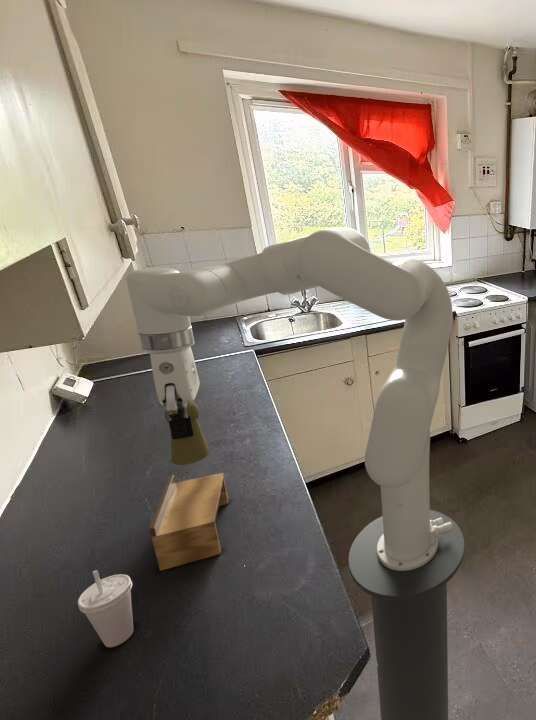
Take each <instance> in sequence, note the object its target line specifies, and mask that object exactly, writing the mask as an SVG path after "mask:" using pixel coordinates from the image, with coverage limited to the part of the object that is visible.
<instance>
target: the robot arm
mask: <svg viewBox="0 0 536 720" xmlns="http://www.w3.org/2000/svg"><path fill="white" fill-rule="evenodd" d="M126 284H127V289H128V294H129V298H130V302H131V306H132V312H133V316H134V321H135V325H136V328H137V333H138V339H139V342H140V347H141V351H142V352H143V353H147V354H149V357H150V366H151V370H152V376H153V381H154V386H155V392H156V396H157V399H158V402H159V404H160V405H161V406H162V407H166V409H167V413H168V421H169V423H168V426H169V430H170V436H171V435H172V439H174V440H175V439H181V438H186V437H192V436H193V435H194V431H193V426H192V421H191V416H188V410H187V402H188V401H189V402H194V403H196V402H195V399H196V397H197V394H198V393H199V392H198V391H199V389H200V385H201V384H200V383H201V382H200V378H199V374H198V369H197V366H196V361H195V357H194V353H193V350H192V347H193V346H194V345H195V344H196V343H195V337H194V331H193V327H192V323H191V317H200V316H205V315H207V314H209V313H212V312H215V311H218V310H220V309H223V308H226V307H228V306H231V305H234V304H236V303H240V302H244V301H247V300H251V299H254V298H258V297H262V296H266V295H271V294H275V293H277V294H280V295H284V296H286V295H287V296H288V295H292V294H296V293H299V292H303V291H307V290H311V289H315V288H318V287H319V288H321V289H323V290H324V291H327V292H329V293H331V294H333V295H335V296H337V297H339V298H341V299H342V300H344V301H347V302H348V303H350V304H353V305H355V306H357V307H358V308H360V309H363V310H365V311H367V312H369V313H371V314H373V315H375V316H378V317H380V318H382V319H385V320H390V321H404V323H403V324H404V325H403V328H402V331H401V335H400V341H399V347H398V351H397V356H396V359H395V361H394V362H395V364H394V365H393V369H392V370H391V372H390V374H389V376H388V377H387V379H386V381H385V382H384V384H383V386H382V387H381V389H380V391H379V393H378V396H377V399H376V402H375V405H374V410H373V414H372V420H371V424H370V428H369V433H368V438H367V443H366V447H365V452H364V467H365V470H366V473H367V475H368V476H369V477H370V480H372V481H373V482H374V483H375V484H377V485H378V486H380V498H381V499H380V500H381V513H382V515H381V516H383V531H384V534H383V535H382V536H381V538H380V539H379V541H378V544H377V555H378V558H379V560H380V562H381V563H382V564H383V565H384V566H386V567H387V568H390V569H392V570H397V571H407V570H413V569H416V568H419V567H421V566H423V565H424V564H426V563H427V562H429V561H430V560H431V559H432V558H433V556H434V555H435V553H436V551H437V548H438V537H439V535H440V534H443V533H444V534H445V533H448V532H451V531H453V527H452V524H451V522H448V523H445V524H443V519H442V518H438V519H436V520H433V521H432V520H430V510H431V505H430V504H431V503H430V502H431V499H430V498H431V495H430V452H431V449H430V447H431V429H430V428H431V425H432V421H433V417H434V414H435V410H436V406H437V403H438V399H439V396H440V395H439V394H440V386H441V378H442V374H443V370H444V366H445V362H446V357H447V351H448V346H449V342H450V338H451V333H452V327H453V312H454V311H453V303H452V298H451V295H450V292H449V290H448V288H447V285H446V283H445V282H444V280H443V279H442V277H441V276H440V275H439V273H437V271H435V270H434V269H433V268H432V267H431V266H429V265H428V264H426V263H425V262H423V261H422V260H418V259H414V258H403V259H400V260H397V261H395V262H393V263H392V262H390V261H389V260H387V259H385V258H383V257H381V256H378V255H376V254H374V253H372V252H371V246H370V244H369V243H368V240H367V239H366V238H365V236H364V235H363V234H362V233H360V232H359V231H358V230H356V229H354V228H351V227H345V226H344V227H343V226H342V227H332V228H325V229H324V228H323V229H319V230H317V231H314V232H312V233H310V234H309V235H305V236H301V237H298V238H294V239H291V240H286V241H282V242H279V243H274V244H271V245H268V246H265V247H264V248H263V250H262V252H260V253H257V254H254V255H250V256H247V257H243V258H239V259H235V260H232V261H228V262H224V263H219V264H214V265H209V266H205V267H204V266H203V267H200V268H195V269H194V268H193V269H190V270H186V271H179V270H177V269H176V268H171V267H170V268H169V267H149V268H140V269H135V270H132V271H130V272H129V273H128V274H127V275H126ZM178 405H182V410H183V411H182V410H181V408H178V407H177V406H178ZM197 419H198V420H199V416H198V417H197ZM441 524H442V525H441ZM438 525H441V526H438Z"/></svg>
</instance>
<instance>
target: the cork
mask: <svg viewBox="0 0 536 720" xmlns="http://www.w3.org/2000/svg"><path fill="white" fill-rule="evenodd" d="M194 402H195V401H194ZM194 402H189V401H188V402H187V410H188V416H191V421H192V426H193V431H194V435H193V436H192V437H186V438H181V439H175V440H174V439H172V435H171V434H170V447H171V448H170V453H171V463H172V464H173V465H177V466H185V465H191V464H194V463H197V462H200V461H202V460H203V459H205V458H207V457H208V456H209V454H210V448H209V446H208V443H207V441H206V438H205V436H204V433H203V429H202V426H201V424H200V422H199V415H200V408H199V405H198V404H197V403H196V402H195V403H194ZM177 407H178V408H181V410H182V405H178V406H177ZM182 411H183V410H182ZM197 417H198V419H197ZM164 418H165V421H166V423H168V424H169V421H168V413H167V408H166V409H165V411H164Z"/></svg>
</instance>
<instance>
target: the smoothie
mask: <svg viewBox="0 0 536 720" xmlns="http://www.w3.org/2000/svg"><path fill="white" fill-rule="evenodd" d="M92 576H93V579H94V581H95V582H94V583H93V584H91V585H90V586H88V587H87V588H86V589H85V590H84V591H83V592H82V593H81V594H80V596H79V597H78V600H77V606H78V610H79V611H80V612H81V613H83V614H84V615H85V616H86V618H87V619H88V621H89V622H90V625H91V626H92V627H93V629H94V630H95V632H96V633H97V635H98V637H99V638H100V640H101V642H102V643H103V645H104V646H105V647H106V648H114V647H117V646H119V645H121V644H123V643H124V642H126V641H127V640H128V639H129V638H130V637H131V636H132V635H133V633H134V631H135V630H134V616H133V605H132V592H131V590H132V588H133V581H132V579H131V577H130V576H129V575H128V574H123V573H122V574H121V573H119V574H113V575H110V576H107V577H103V578H102V579H101V578H100V574H99V571H98V569H95V570H93V571H92Z"/></svg>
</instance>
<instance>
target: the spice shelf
mask: <svg viewBox="0 0 536 720" xmlns="http://www.w3.org/2000/svg"><path fill="white" fill-rule="evenodd" d="M228 504H229V495H228V491H227V484H226V480H225V476H224V472H219V473H215V474H214V473H213V474H210V475H209V474H208V475H205V476H200V477H195V478H191V479H186V480H181V481H178V482H177V481H176V478H175V475H174V474H171V475H169V476H168V479H167V480H166V484H165V487H164V490H163V492H162V495H161V497H160V500H159V502H158V505H157V508H156V510H155V512H154V515H153V517H152V520H151V523H150V526H149V534H150V538H151V541H152V545H153V548H154V553H155V556H156V561H157V565H158V568H159V571H160V572H162V571H164V570H168V569H173V568H175V567H179V566H183V565H186V564H190V563H193V562H196V561H200V560H204V559H208V558H210V557H214V556H217V555H221V552H222V547H221V542H220V538H219V533H218V532H219V531H218V528H217V523H216V520H217V515H218V509H219V507H221V506H225V505H228Z"/></svg>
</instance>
